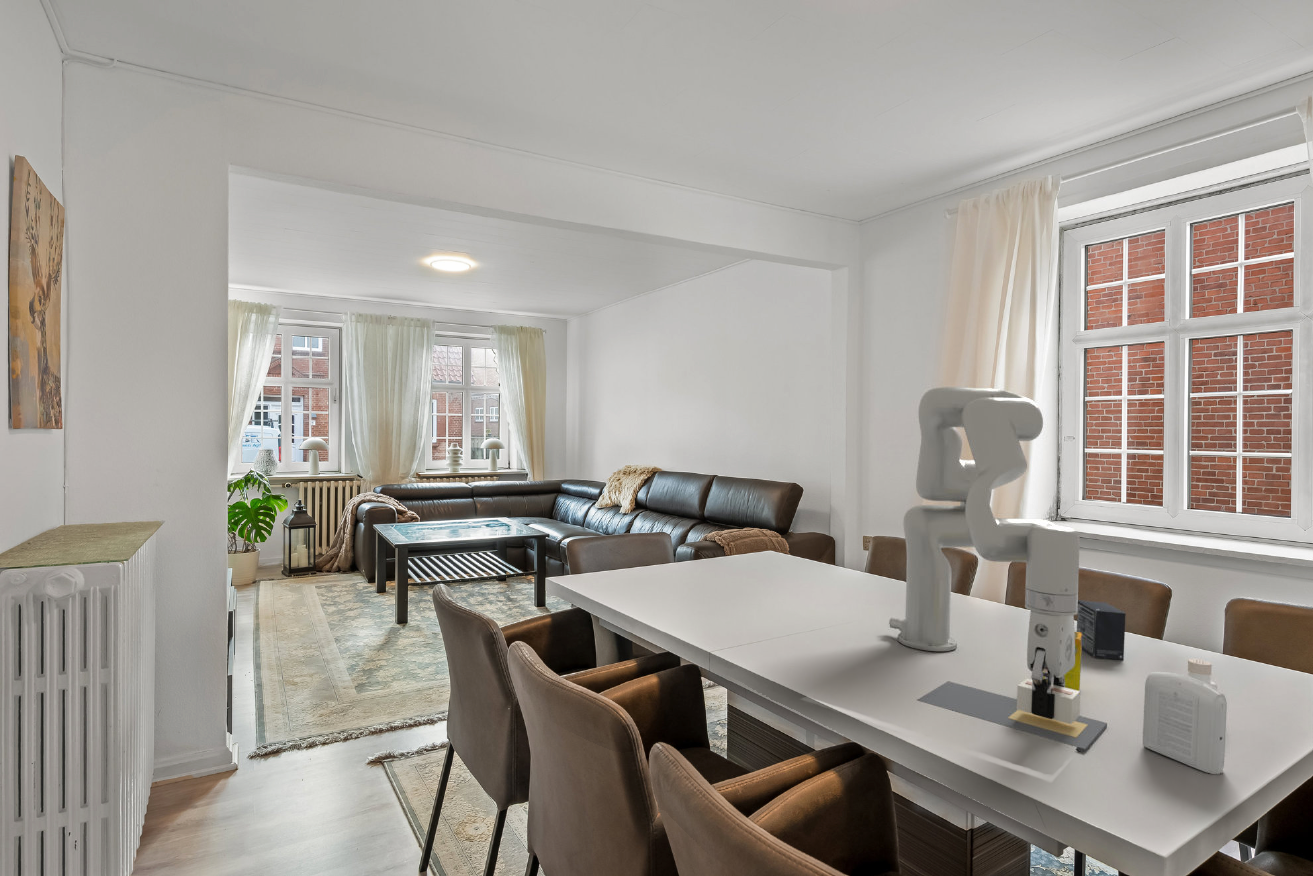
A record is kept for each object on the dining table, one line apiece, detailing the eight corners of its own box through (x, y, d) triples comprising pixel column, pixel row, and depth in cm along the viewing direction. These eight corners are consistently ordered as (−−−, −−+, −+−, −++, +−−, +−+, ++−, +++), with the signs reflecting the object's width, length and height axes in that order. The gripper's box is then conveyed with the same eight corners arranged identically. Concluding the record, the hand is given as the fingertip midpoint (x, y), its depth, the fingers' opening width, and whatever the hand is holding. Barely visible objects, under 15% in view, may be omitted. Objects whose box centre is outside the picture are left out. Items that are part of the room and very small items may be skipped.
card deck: (1071, 724, 111) (1071, 698, 111) (1016, 709, 117) (1017, 684, 116) (1079, 715, 115) (1080, 690, 114) (1026, 701, 120) (1027, 677, 120)
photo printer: (1230, 772, 101) (1233, 686, 101) (1212, 777, 99) (1215, 690, 99) (1154, 742, 110) (1157, 664, 110) (1137, 747, 108) (1139, 667, 108)
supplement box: (1079, 699, 128) (1081, 639, 128) (1042, 692, 131) (1044, 633, 131) (1080, 689, 133) (1082, 632, 133) (1044, 683, 136) (1046, 626, 136)
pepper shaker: (1203, 723, 118) (1205, 666, 118) (1178, 714, 122) (1179, 659, 122) (1218, 719, 120) (1219, 664, 120) (1192, 711, 123) (1193, 657, 123)
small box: (1126, 661, 151) (1128, 612, 151) (1093, 658, 152) (1094, 610, 152) (1105, 646, 162) (1107, 601, 161) (1074, 644, 163) (1075, 599, 163)
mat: (916, 703, 124) (916, 699, 124) (948, 684, 134) (948, 680, 134) (1085, 753, 106) (1085, 748, 106) (1107, 726, 116) (1107, 722, 116)
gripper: (1062, 614, 107) (1058, 734, 107) (1090, 597, 119) (1087, 705, 119) (1009, 605, 112) (1005, 719, 112) (1041, 590, 124) (1038, 692, 124)
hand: (1047, 710), depth 116 cm, fingers closed on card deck, 4 cm apart
